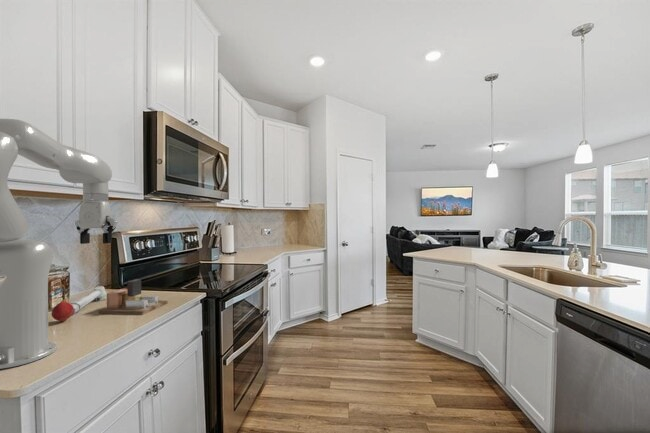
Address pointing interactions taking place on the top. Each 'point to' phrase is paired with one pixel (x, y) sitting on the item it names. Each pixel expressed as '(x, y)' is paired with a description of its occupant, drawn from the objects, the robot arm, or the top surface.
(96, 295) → the white rod
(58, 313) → the onion
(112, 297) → the socket block
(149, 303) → the guide sleeve
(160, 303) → the base board
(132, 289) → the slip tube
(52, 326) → the top surface
